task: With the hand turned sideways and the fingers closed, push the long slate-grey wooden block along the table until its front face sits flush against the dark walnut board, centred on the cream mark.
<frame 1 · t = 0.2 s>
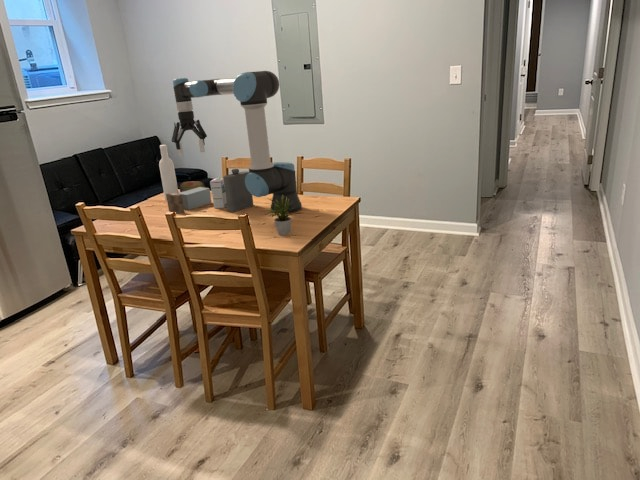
hand: (192, 154, 256), 27 cm above the table, tool pointing down, fingers open, 13 cm apart
flask: (240, 208, 254), on the table
slate block: (195, 205, 267), on the table
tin: (193, 196, 287), on the table
syrup box: (221, 207, 260), on the table
walnut board: (176, 211, 257), on the table
bottle: (172, 198, 285), on the table
house plant: (282, 232, 212), on the table
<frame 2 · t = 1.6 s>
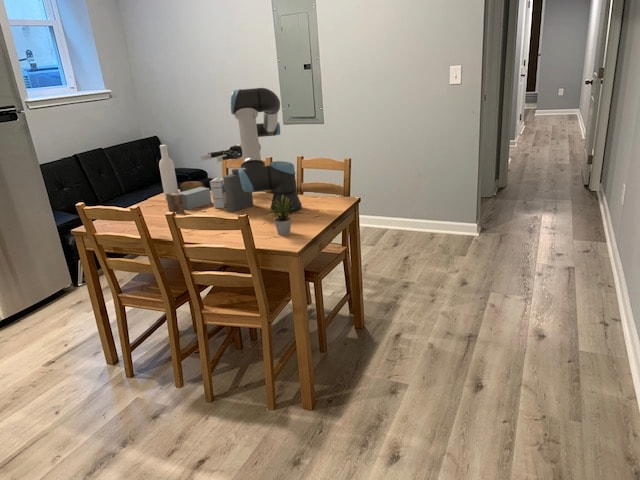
hand: (209, 158, 269), 22 cm above the table, tool horizontal, fingers open, 12 cm apart
nothing on the table moved.
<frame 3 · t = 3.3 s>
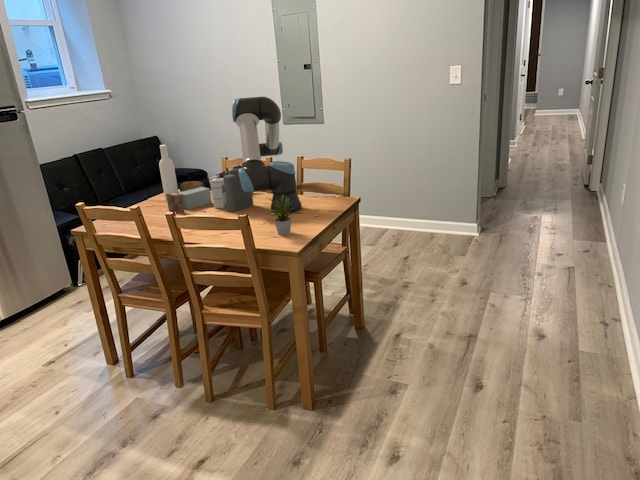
hand: (210, 180, 272), 11 cm above the table, tool horizontal, fingers closed
nothing on the table moved.
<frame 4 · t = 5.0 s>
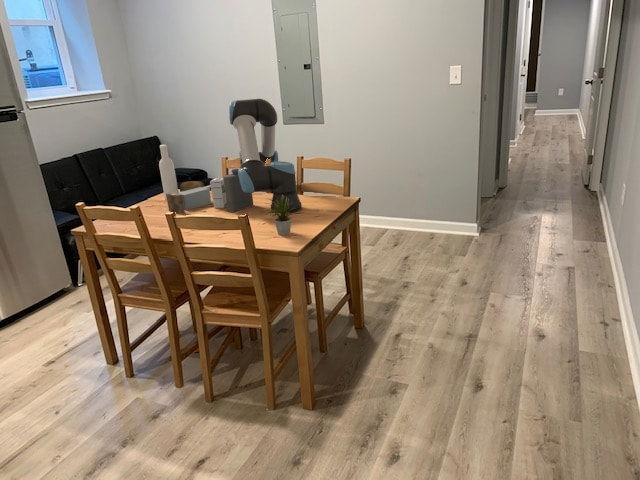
hand: (204, 190, 270), 6 cm above the table, tool horizontal, fingers closed
nothing on the table moved.
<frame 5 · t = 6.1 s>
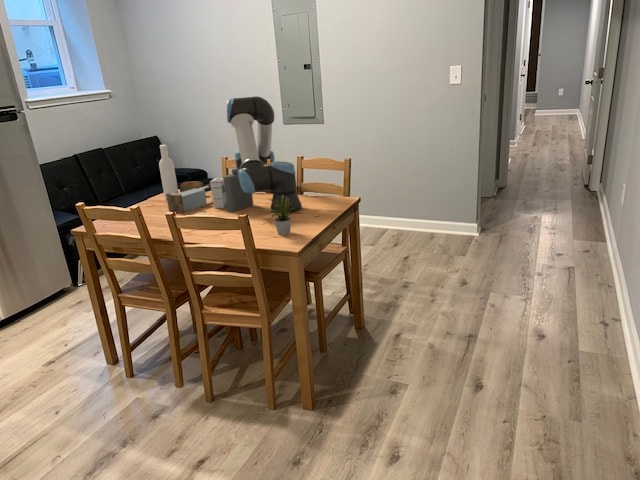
hand: (199, 191, 267), 7 cm above the table, tool horizontal, fingers closed
slate block: (190, 207, 263), on the table, touching gripper, walnut board
everything else where it was.
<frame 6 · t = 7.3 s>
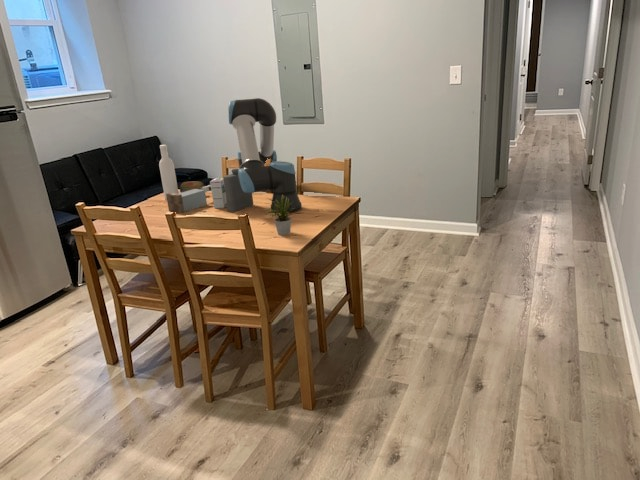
hand: (203, 189, 269), 7 cm above the table, tool horizontal, fingers closed
slate block: (190, 207, 263), on the table
everything else where it was.
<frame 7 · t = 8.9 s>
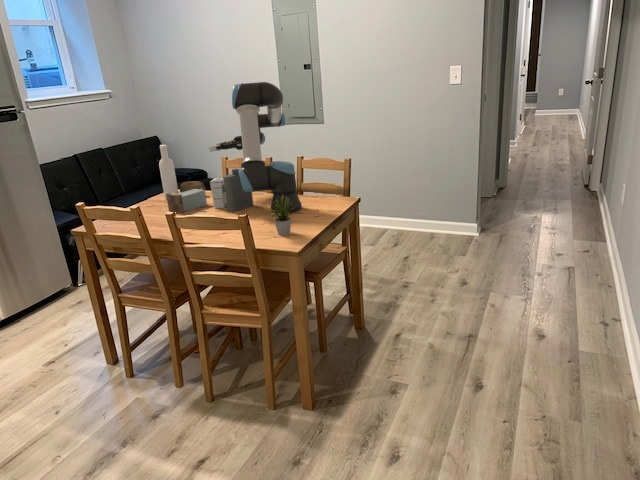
hand: (210, 149, 264), 28 cm above the table, tool horizontal, fingers closed
nothing on the table moved.
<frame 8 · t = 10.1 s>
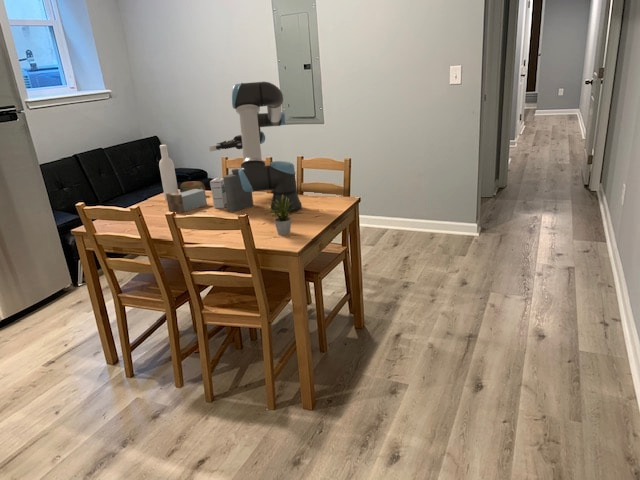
hand: (210, 148, 264), 28 cm above the table, tool horizontal, fingers closed
nothing on the table moved.
at the end: slate block 0.9 cm from the target spot on the table beside the walnut board, on the table; slate block tilted 0° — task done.
